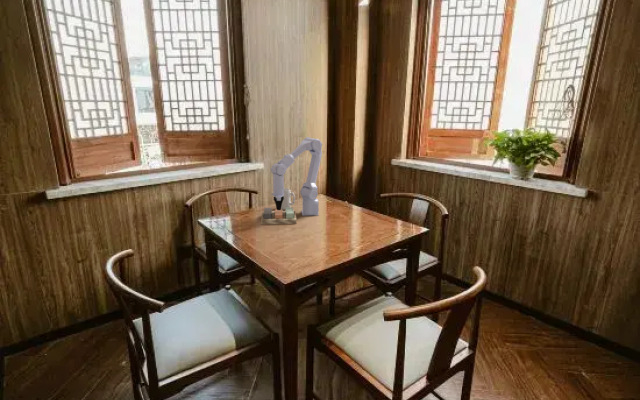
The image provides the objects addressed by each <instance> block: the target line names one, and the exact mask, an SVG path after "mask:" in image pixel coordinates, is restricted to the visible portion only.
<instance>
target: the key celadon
mask: <svg viewBox="0 0 640 400" xmlns="http://www.w3.org/2000/svg"><path fill="white" fill-rule="evenodd" d="M285 211H286V216H285V218H286V219H294V212H293V211H294V207H293V206H290V207H287V208H286V210H285Z"/></svg>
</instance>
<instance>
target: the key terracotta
mask: <svg viewBox="0 0 640 400" xmlns="http://www.w3.org/2000/svg"><path fill="white" fill-rule="evenodd" d="M274 211H275V216H274V219H283V214H282V211H283V210H282V209H281V210H277V208H276V209H274Z"/></svg>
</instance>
